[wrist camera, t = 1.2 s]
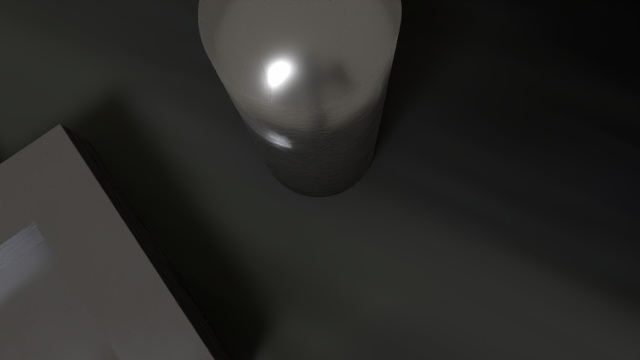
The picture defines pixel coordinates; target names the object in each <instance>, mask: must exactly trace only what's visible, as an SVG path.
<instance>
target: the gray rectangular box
mask: <svg viewBox="0 0 640 360" xmlns="http://www.w3.org/2000/svg"><path fill="white" fill-rule="evenodd" d="M0 360H232V358H231V357H230V355H229V354H228V352H227V351H226V349H225V348H224V346H223V345H222V343H221V342H220V340H219V339H218V337H217V336H216V334H215V332H214V331H213V329H212V328H211V326H210V325H209V323H208V322H207V320H206V319H205V317H204V316H203V314H202V313H201V311H200V310H199V308H198V307H197V305H196V304H195V302H194V301H193V299H192V298H191V296H190V295H189V293H188V292H187V290H186V289H185V287H184V286H183V284H182V283H181V281H180V280H179V278H178V277H177V275H176V274H175V272H174V271H173V269H172V268H171V266H170V265H169V263H168V262H167V260H166V259H165V257H164V256H163V254H162V253H161V251H160V249H159V248H158V246H157V245H156V243H155V242H154V240H153V239H152V237H151V236H150V234H149V233H148V231H147V230H146V228H145V227H144V225H143V224H142V222H141V221H140V219H139V218H138V216H137V215H136V213H135V212H134V210H133V209H132V207H131V206H130V204H129V203H128V201H127V200H126V198H125V197H124V195H123V194H122V192H121V191H120V189H119V188H118V186H117V185H116V183H115V182H114V180H113V179H112V177H111V176H110V174H109V173H108V171H107V169H106V168H105V166H104V165H103V163H102V162H101V160H100V159H99V157H98V156H97V154H96V153H95V151H94V150H93V148H92V147H91V145H90V144H89V142H87V141H86V140H84V139H83V138H81V137H80V136H78V135H77V134H75V133H73V132H72V131H70V130H69V129H67V128H66V127H64V126H62V125H61V124H59V125H58V126H56V127H55V128H53V129H52V130H50V131H49V132H47V133H46V134H44V135H43V136H41V137H40V138H38V139H37V140H35V141H34V142H32V143H31V144H29V145H28V146H26V147H25V148H24V149H22V150H21V151H19V152H18V153H16V154H15V155H13V156H12V157H10V158H9V159H7V160H6V161H4V162H3V163H1V164H0Z"/></svg>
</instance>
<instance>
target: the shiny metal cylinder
mask: <svg viewBox="0 0 640 360" xmlns="http://www.w3.org/2000/svg"><path fill="white" fill-rule="evenodd" d="M401 11H402V8H401V0H200V1H199V8H198V23H199V31H200V36H201V39H202V43H203V46H204V48H205V50H206V52H207V55H208V57H209V59H210V60H211V62H212V64H213V66H214V68H215V70H216V71H217V73H218V75H219V77H220V79H221V81H222V83H223V84H224V86H225V88H226V90H227V92H228V94H229V96H230V97H231V99H232V101H233V103H234V105H235V107H236V108H237V110H238V112H239V114H240V116H241V118H242V120H243V121H244V123H245V125H246V127H247V129H248V131H249V133H250V134H251V136H252V138H253V140H254V142H255V144H256V145H257V147H258V149H259V151H260V153H261V155H262V157H263V158H264V160H265V162H266V164H267V166H268V168H269V169H270V171H271V173H272V174H273V175H274V177H275V178H276V179H277V180H278V181H279V182H280V183H281V184H282V185H284V186H285V187H286V188H288V189H289V190H291V191H293V192H295V193H298V194H301V195H305V196H309V197H327V196H332V195H335V194H339V193H341V192H343V191H345V190H347V189H349V188H350V187H352V186H353V185H354V184H356V183H357V182H358V181H359V180H360V179H361V178H362V177H363V175H364V174H365V173H366V171H367V170H368V168H369V166H370V164H371V161H372V158H373V155H374V150H375V145H376V140H377V136H378V131H379V126H380V121H381V116H382V111H383V106H384V101H385V97H386V92H387V87H388V82H389V77H390V72H391V67H392V62H393V58H394V53H395V48H396V43H397V38H398V33H399V28H400V24H401Z"/></svg>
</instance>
